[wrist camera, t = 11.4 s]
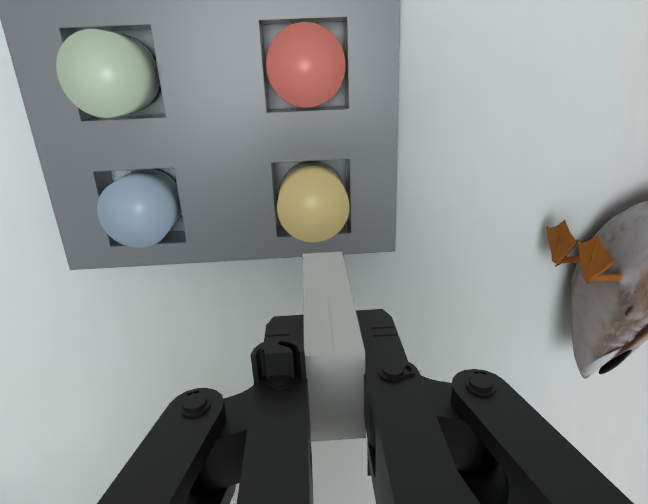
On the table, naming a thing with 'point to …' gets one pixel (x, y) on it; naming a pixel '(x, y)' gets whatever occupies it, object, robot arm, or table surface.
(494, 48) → the table surface
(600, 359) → the decorative duck model
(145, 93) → the sage button
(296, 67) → the red button
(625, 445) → the table surface
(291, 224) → the ochre button
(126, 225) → the slate button
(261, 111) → the button panel
